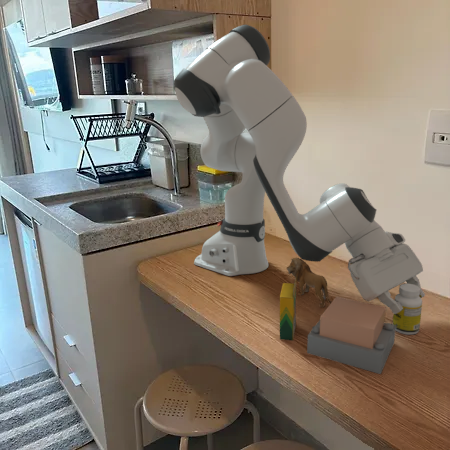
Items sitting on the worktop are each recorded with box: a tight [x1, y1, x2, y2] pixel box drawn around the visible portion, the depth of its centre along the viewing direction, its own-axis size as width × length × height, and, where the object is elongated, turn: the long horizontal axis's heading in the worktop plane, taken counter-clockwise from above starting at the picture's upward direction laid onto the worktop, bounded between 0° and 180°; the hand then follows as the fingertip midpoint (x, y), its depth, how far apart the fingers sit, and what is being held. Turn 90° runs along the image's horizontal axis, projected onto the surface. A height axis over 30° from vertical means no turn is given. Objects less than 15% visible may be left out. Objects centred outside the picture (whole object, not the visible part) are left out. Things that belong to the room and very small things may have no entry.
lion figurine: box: [286, 257, 333, 308], centre depth 110 cm, size 15×5×9 cm, turn 38°
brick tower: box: [306, 296, 396, 375], centre depth 88 cm, size 14×12×8 cm
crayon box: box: [279, 277, 297, 342], centre depth 94 cm, size 7×3×12 cm, turn 167°
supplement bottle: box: [392, 283, 423, 336], centre depth 94 cm, size 5×5×10 cm
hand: (410, 304), depth 93 cm, fingers open, 8 cm apart
